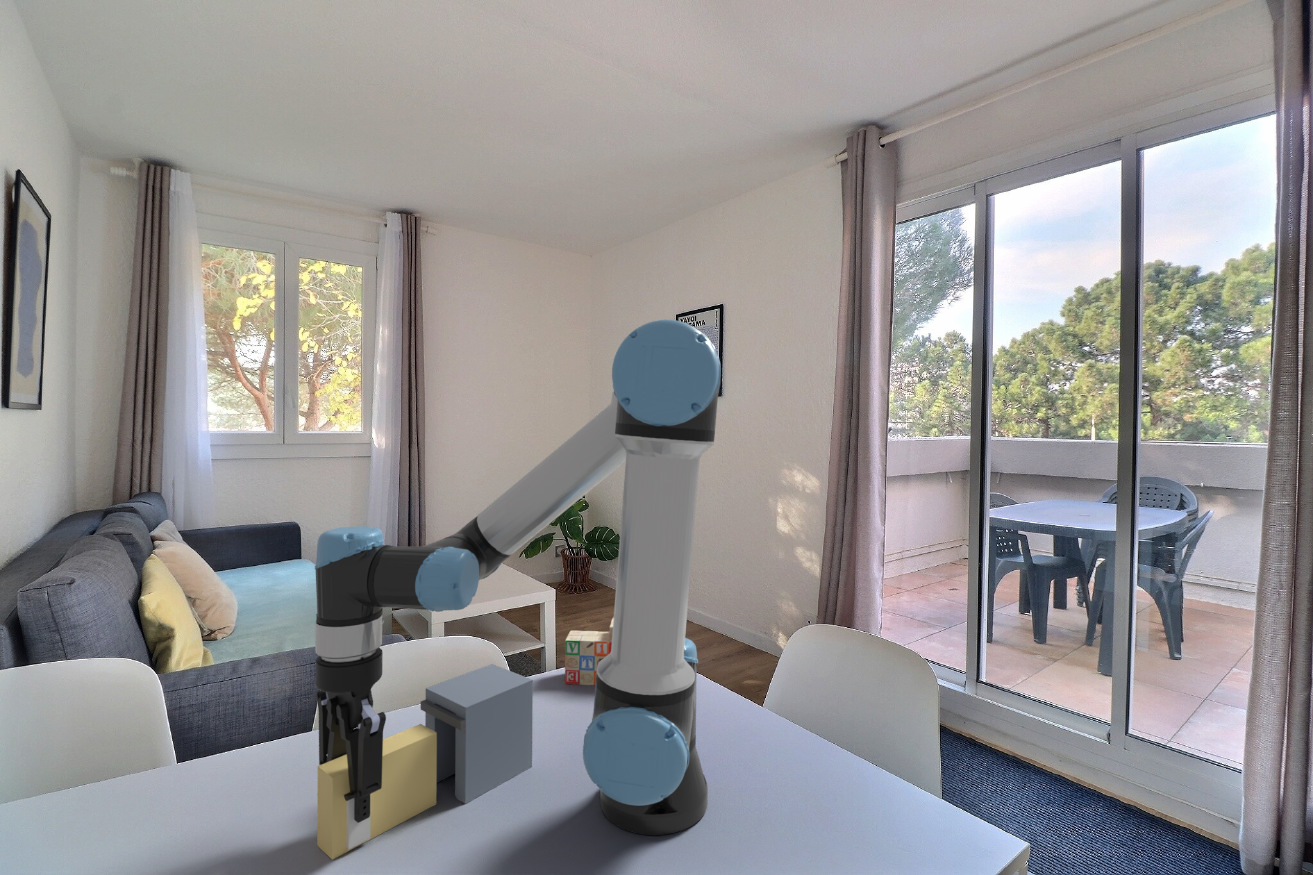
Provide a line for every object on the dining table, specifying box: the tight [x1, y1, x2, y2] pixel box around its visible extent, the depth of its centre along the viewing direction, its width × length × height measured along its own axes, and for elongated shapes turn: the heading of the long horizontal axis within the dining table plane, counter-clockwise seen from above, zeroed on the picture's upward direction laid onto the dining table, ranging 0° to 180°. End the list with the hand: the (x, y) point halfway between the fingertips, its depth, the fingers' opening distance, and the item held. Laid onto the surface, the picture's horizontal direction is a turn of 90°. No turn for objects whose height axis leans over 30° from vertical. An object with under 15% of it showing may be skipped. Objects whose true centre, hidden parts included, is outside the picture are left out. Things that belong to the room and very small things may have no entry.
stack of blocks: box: [564, 617, 614, 686], centre depth 127 cm, size 21×6×12 cm, turn 86°
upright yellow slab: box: [316, 723, 437, 861], centre depth 80 cm, size 4×14×10 cm, turn 142°
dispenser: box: [420, 663, 534, 805], centre depth 92 cm, size 10×13×14 cm
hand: (349, 834), depth 77 cm, fingers closed on upright yellow slab, 4 cm apart
